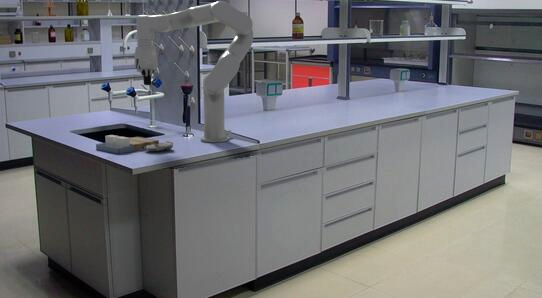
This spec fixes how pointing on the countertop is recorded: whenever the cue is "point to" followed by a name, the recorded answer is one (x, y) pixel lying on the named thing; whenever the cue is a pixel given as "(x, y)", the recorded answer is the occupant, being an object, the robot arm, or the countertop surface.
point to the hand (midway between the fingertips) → (147, 84)
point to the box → (114, 149)
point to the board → (141, 142)
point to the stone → (159, 146)
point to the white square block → (122, 142)
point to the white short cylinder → (110, 140)
